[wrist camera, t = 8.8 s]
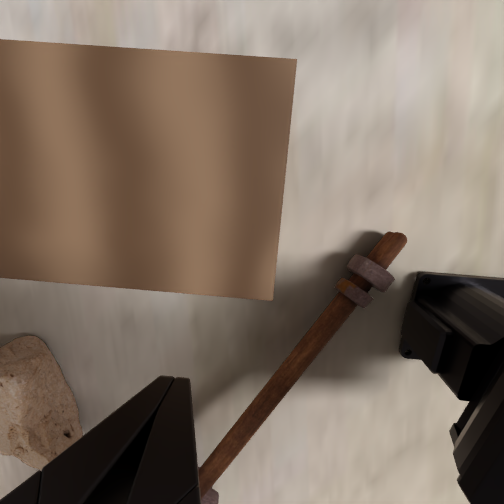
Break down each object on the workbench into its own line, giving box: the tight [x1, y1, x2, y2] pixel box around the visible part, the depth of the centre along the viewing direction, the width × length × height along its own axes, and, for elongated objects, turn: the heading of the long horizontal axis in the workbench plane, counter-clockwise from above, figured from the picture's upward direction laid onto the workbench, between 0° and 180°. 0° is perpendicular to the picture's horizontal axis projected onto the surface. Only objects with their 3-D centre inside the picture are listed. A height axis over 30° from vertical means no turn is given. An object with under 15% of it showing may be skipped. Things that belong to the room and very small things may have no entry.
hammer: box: [198, 232, 407, 504], centre depth 20 cm, size 7×33×10 cm, turn 144°
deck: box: [0, 39, 297, 301], centre depth 17 cm, size 16×12×4 cm
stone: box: [0, 336, 82, 470], centre depth 22 cm, size 9×11×5 cm
